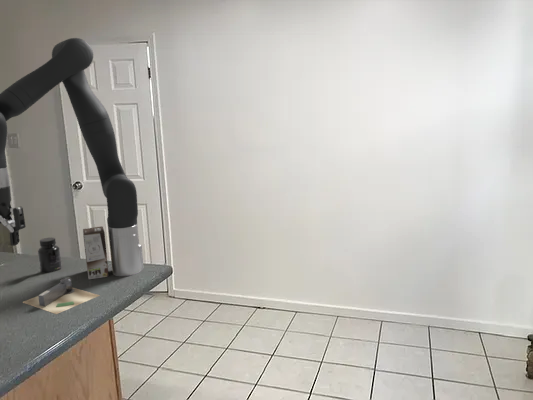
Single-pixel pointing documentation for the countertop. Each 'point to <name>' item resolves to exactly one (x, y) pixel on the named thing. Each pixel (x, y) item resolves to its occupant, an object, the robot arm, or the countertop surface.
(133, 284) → the countertop surface
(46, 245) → the supplement bottle
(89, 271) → the coffee box
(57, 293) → the tuning lever
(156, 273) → the countertop surface
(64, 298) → the board
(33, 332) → the countertop surface
